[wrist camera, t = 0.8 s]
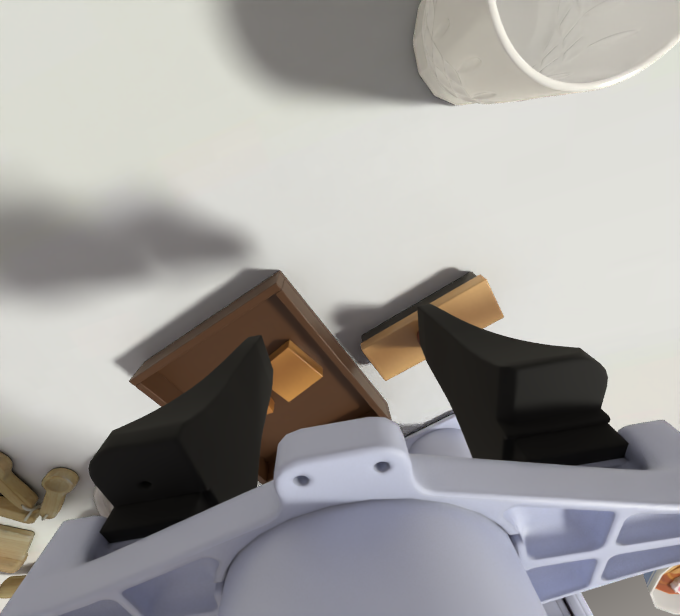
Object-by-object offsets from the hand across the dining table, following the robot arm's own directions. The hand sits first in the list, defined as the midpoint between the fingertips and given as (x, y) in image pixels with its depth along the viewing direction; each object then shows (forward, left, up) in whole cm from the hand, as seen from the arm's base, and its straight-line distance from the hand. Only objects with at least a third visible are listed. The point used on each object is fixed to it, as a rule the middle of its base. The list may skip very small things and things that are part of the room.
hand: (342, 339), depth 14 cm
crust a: (-5, +8, -10) cm, 14 cm away
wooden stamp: (-8, -4, -10) cm, 13 cm away
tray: (-6, +10, -10) cm, 16 cm away
